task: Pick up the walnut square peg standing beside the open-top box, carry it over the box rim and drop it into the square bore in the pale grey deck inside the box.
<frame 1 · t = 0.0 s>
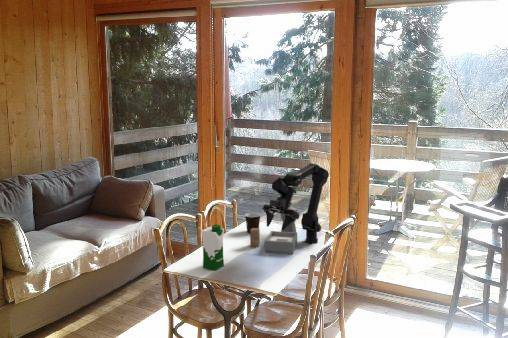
hand: (274, 228, 228), 15 cm above the table, tool tilted 35°, fingers open, 9 cm apart
bore box: (281, 247, 244), on the table
coffee mug: (252, 233, 269), on the table
peg: (255, 246, 247), on the table
milk carton: (213, 267, 220), on the table
coffeepot: (287, 235, 265), on the table
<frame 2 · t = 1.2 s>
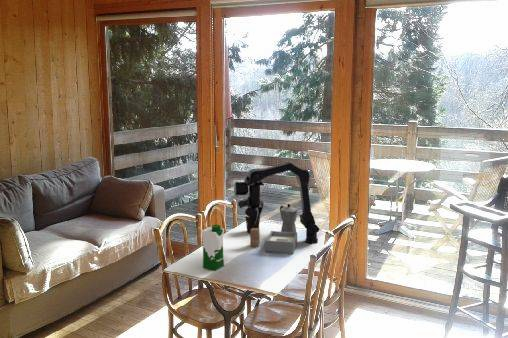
hand: (255, 223, 245), 12 cm above the table, tool pointing down, fingers open, 9 cm apart
nothing on the table moved.
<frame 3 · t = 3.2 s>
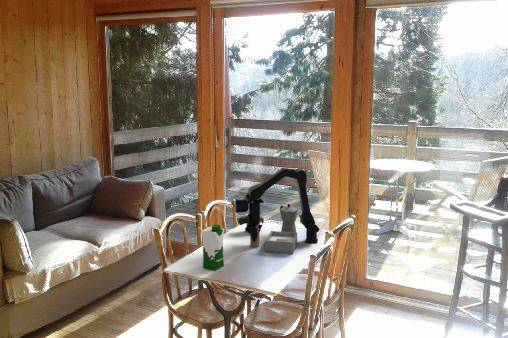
hand: (254, 240, 247), 3 cm above the table, tool pointing down, fingers closed on peg, 4 cm apart
peg: (255, 246, 247), on the table, touching gripper
everything else where it was.
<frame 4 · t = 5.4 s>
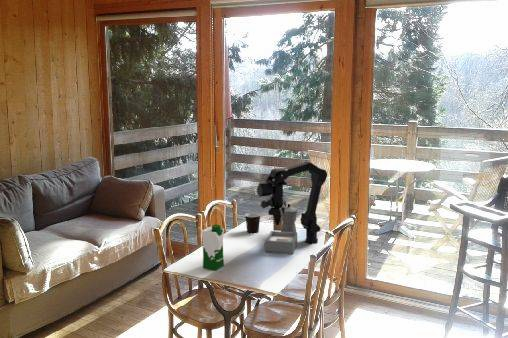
hand: (278, 223, 243), 13 cm above the table, tool pointing down, fingers closed on peg, 4 cm apart
peg: (278, 229, 243), point 10 cm above the table, touching gripper
everything else where it was.
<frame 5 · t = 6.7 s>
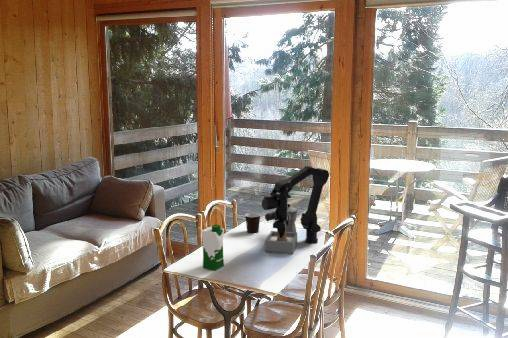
hand: (281, 236, 243), 6 cm above the table, tool pointing down, fingers closed on peg, 4 cm apart
peg: (281, 242, 244), point 3 cm above the table, touching gripper
everything else where it was.
when the fingers open (5 cm above the table, at t = 7.6 s): peg drops 1 cm, resting on bore box.
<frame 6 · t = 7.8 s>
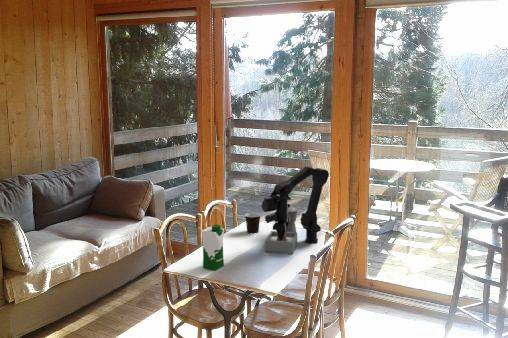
hand: (281, 238, 244), 5 cm above the table, tool pointing down, fingers open, 6 cm apart
peg: (281, 246, 244), point 1 cm above the table, touching bore box
everything else where it was.
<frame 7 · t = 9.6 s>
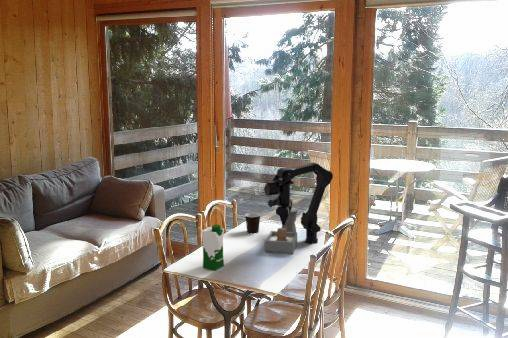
hand: (284, 222, 244), 13 cm above the table, tool pointing down, fingers open, 9 cm apart
nothing on the table moved.
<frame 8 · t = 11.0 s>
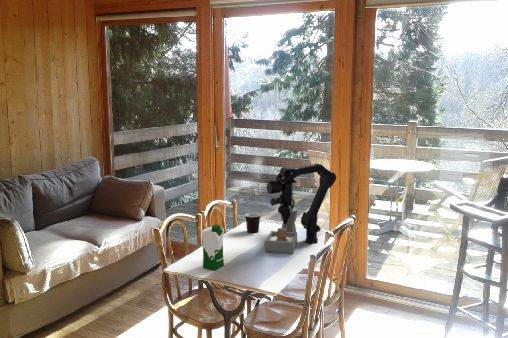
hand: (286, 221, 245), 13 cm above the table, tool pointing down, fingers open, 9 cm apart
nothing on the table moved.
at the end: peg 0.1 cm off-centre on the bore box, point 0.8 cm above the bore box's base; peg tilted 0°; the gripper is holding nothing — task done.
